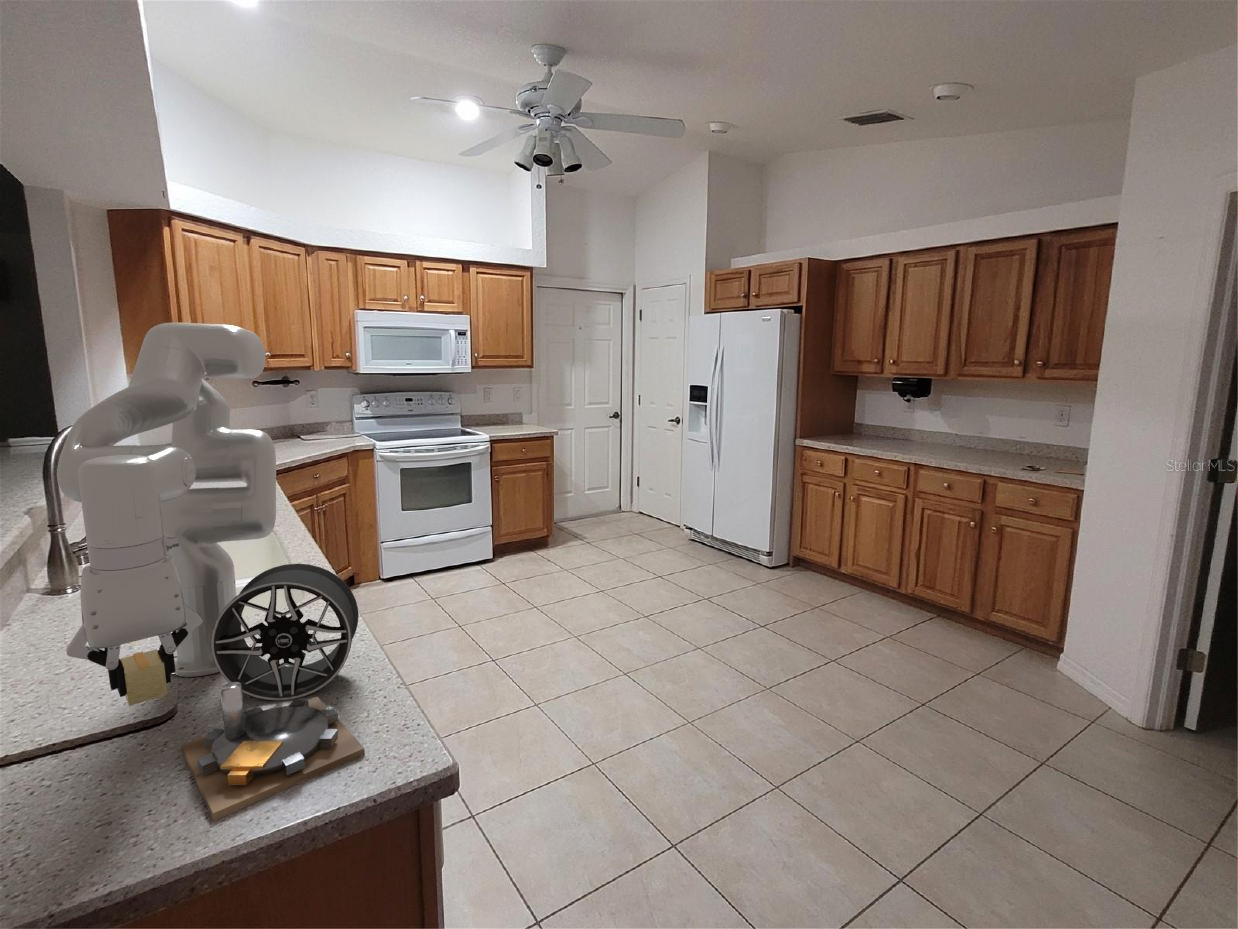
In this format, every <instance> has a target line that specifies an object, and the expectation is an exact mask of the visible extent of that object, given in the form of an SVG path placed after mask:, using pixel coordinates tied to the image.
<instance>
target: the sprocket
mask: <svg viewBox="0 0 1238 929" xmlns="http://www.w3.org/2000/svg"><path fill="white" fill-rule="evenodd" d="M220 699H221V710H222V720H223V721H222V722H223V728H219V729H217V728H213V730H212V731H210V732H209V733H208V734H206V735H207V736H206V735H205V736H206V737H205V738H204V745H205V748H212V749H211V751H212V753H210V754H207V755H205V756H202V757H200V758H197V760H198V768H199V770H200V772H201V774H202V775H203V776H204V775H207V774H209V773H212V772H214V771H217V770H218V771H219V772H221V773H223V774H226V775H228V785H247V784H248V782H249V781H250V780H251V779H252V778H253V776H260V775H265V774H270V773H274V772H277V771H280V770H283V771H284V773H285V774H286V775H289V774H292V773H294V772H296V771H298V770H301V769H303V768H305V762H304V760H305V759H306V758H308V757H309V756H311V755H312V754H313V753H315V752H316V751H317V750H318V749H319V748H332V746H333V745H334V743H335V742H336V740H337V739H338V729H328V725H329V724H332V723H334V722H336V721H338V720H339V718H338V714H339V713H338V711H336V709H335V708H333V706H329V707H327V708H326V709H323V710H321V711H320V710H318V709H315V708H312V707H309V703H308V700H309V699H294V700H293V699H292V701H291V703H290V704H288V705H285V706H284V705H283V706H278V707H273V708H268V709H265V710H264V709H263V708H262V707H261V706H257V707H254V708H251V709H249V710H246V711H244V702H243V692H242V687H241V683H239V682H232V683H229V682H228V683H226V684H224V685H222V686H221V687H220Z"/></svg>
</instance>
